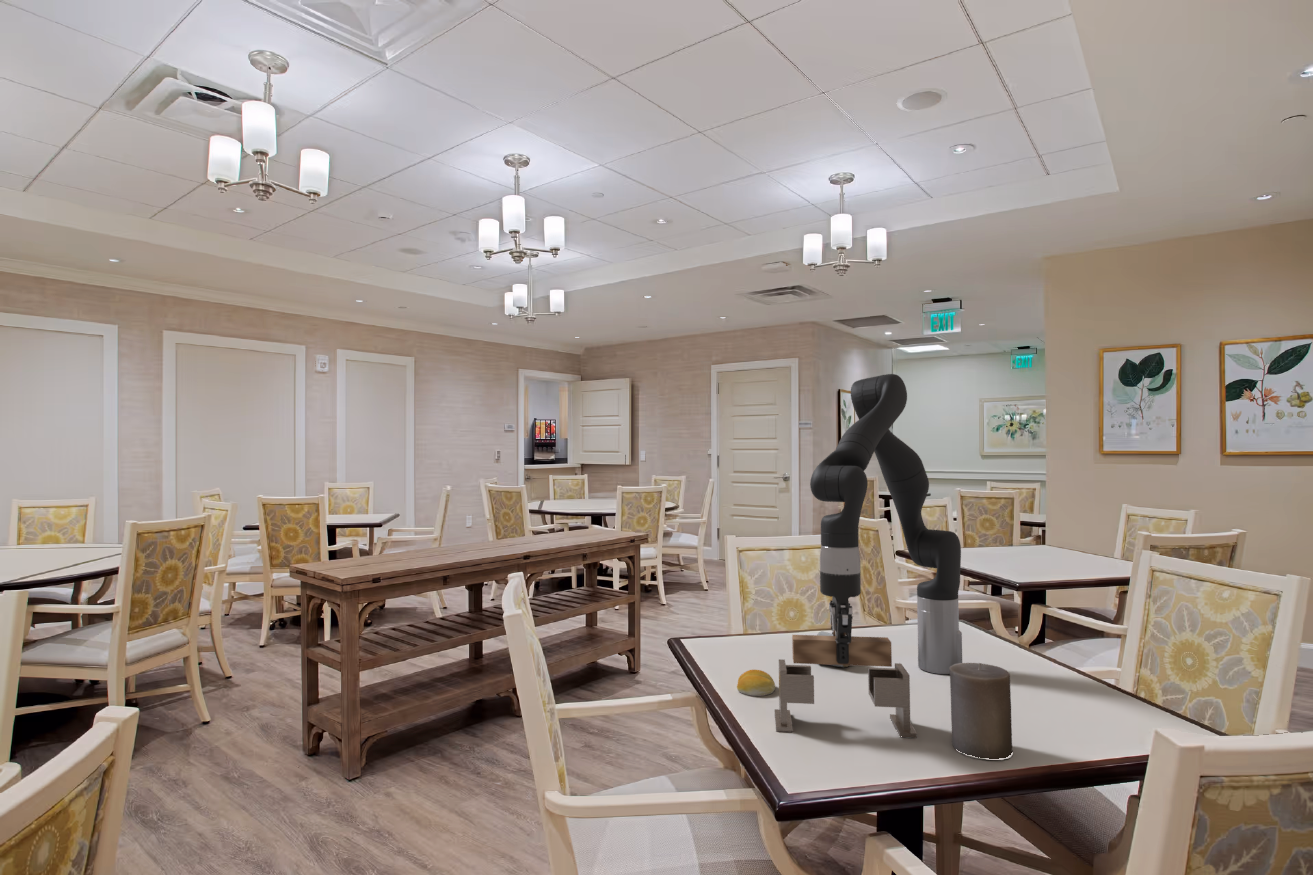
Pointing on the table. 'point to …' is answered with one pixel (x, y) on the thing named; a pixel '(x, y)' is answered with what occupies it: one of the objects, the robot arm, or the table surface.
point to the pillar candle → (981, 710)
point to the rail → (824, 650)
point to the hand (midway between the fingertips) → (841, 659)
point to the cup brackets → (883, 689)
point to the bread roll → (755, 683)
